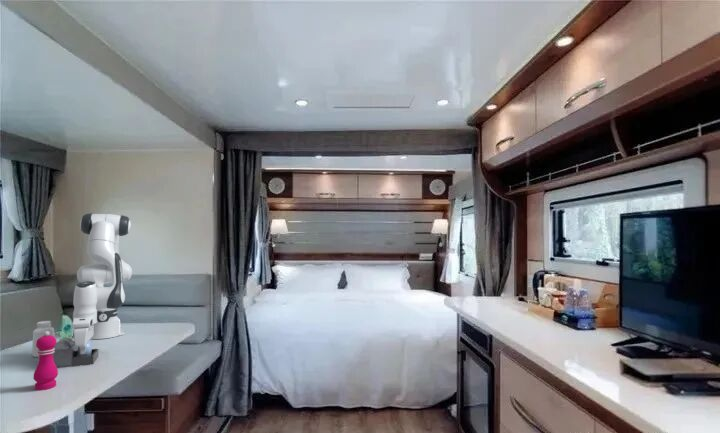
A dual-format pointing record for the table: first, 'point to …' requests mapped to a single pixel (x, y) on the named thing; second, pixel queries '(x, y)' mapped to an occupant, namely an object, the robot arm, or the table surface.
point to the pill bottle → (41, 334)
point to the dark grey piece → (71, 354)
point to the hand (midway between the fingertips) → (84, 351)
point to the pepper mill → (45, 363)
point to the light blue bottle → (88, 349)
